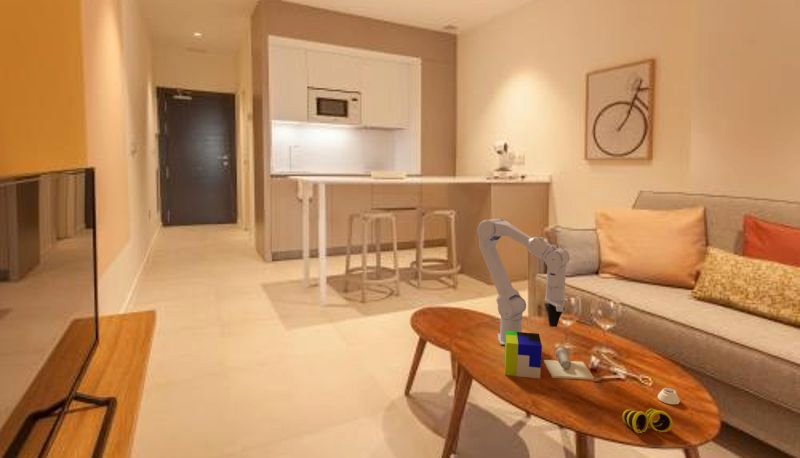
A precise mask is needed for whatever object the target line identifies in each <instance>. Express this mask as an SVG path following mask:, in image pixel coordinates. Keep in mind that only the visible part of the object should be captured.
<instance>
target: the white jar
mask: <svg viewBox="0 0 800 458" xmlns="http://www.w3.org/2000/svg"><path fill="white" fill-rule="evenodd" d="M657 399H658V400H659V401H661V402H662V403H665V404H668V405H679V404H680V398H679V395H678V394H677V391H676V390H675V389H673V388H669V387H664V388H662V389H661V391H660V392H659V393H658V394H657Z"/></svg>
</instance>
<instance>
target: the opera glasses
mask: <svg viewBox="0 0 800 458" xmlns="http://www.w3.org/2000/svg"><path fill="white" fill-rule="evenodd" d="M655 416H658V418H657V419H656V420H655V421H653V419H654V417H655ZM621 417H622V421H623V423H624V424H625V425H627V426H628V427H630V428H631V429H633V430H634V432H635V433H636V434H639V433H641V434H643V433H642V432H644V433H645V432H646V431H647V429H648V427H649V425H650V427H651V429H652V430H654V431H656V432H657V431H659V432H658V433H661V432H665V433H668V432H669V431H670V430H671V429H672V427H673V419H672V417H671V416H670V415H669V414H668V413H667V412H665V411H663V410H658V409H656V408H649V409H647V410H646V412H644V411H637V410H632V409H626V410H625V411H623V413H622V416H621ZM637 429H640V430H641V431H638V430H637Z"/></svg>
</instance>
